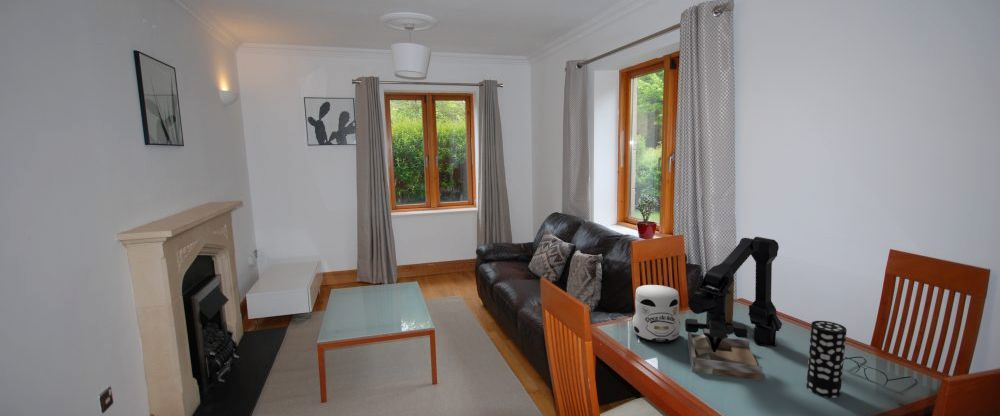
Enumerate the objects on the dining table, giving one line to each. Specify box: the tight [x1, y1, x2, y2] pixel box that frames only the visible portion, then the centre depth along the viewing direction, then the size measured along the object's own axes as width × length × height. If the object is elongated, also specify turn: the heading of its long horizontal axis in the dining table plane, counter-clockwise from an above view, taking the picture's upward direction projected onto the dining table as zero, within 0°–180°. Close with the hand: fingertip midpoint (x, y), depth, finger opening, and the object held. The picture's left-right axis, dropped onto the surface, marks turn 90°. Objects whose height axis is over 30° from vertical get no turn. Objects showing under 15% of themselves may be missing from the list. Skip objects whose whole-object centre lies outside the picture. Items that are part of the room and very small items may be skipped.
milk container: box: [632, 284, 681, 343], centre depth 173 cm, size 17×17×18 cm
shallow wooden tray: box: [687, 332, 763, 381], centre depth 153 cm, size 20×20×5 cm
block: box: [713, 280, 735, 323], centre depth 184 cm, size 11×8×20 cm
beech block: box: [692, 333, 712, 355], centre depth 155 cm, size 4×4×4 cm
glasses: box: [844, 356, 912, 387], centre depth 144 cm, size 14×15×5 cm
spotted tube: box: [805, 320, 847, 399], centre depth 133 cm, size 8×8×20 cm
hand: (713, 351), depth 154 cm, fingers closed
